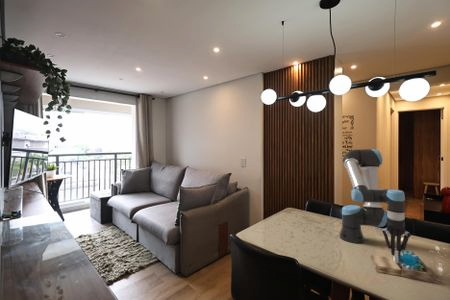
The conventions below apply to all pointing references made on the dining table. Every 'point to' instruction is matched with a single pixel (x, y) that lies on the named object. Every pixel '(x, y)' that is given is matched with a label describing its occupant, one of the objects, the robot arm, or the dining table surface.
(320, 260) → the dining table surface
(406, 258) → the gear
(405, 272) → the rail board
